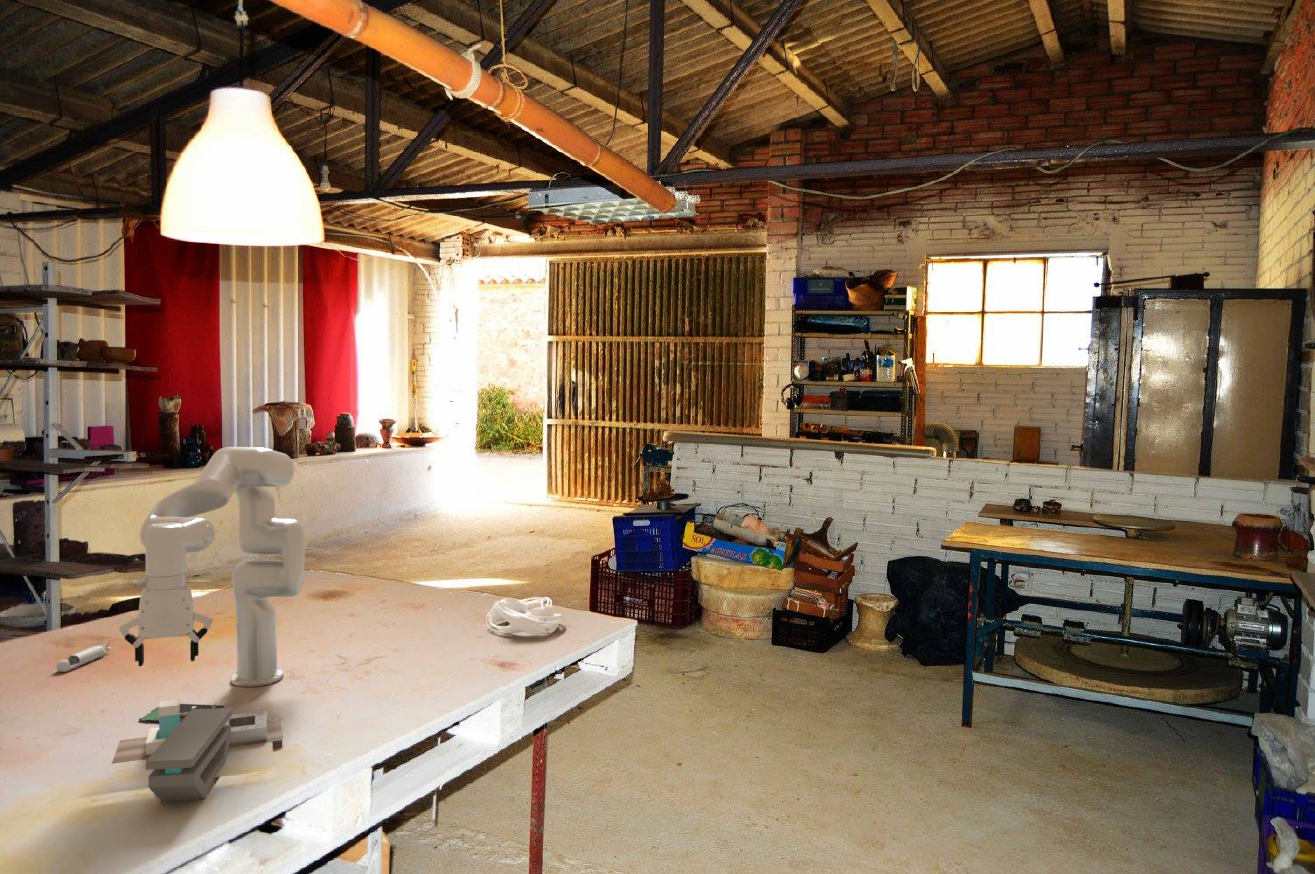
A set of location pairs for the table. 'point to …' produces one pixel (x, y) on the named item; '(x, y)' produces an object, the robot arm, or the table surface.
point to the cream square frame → (153, 741)
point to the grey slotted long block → (191, 756)
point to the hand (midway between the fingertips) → (167, 661)
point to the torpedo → (82, 657)
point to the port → (248, 727)
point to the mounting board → (137, 751)
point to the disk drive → (184, 710)
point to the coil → (524, 616)
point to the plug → (168, 717)
